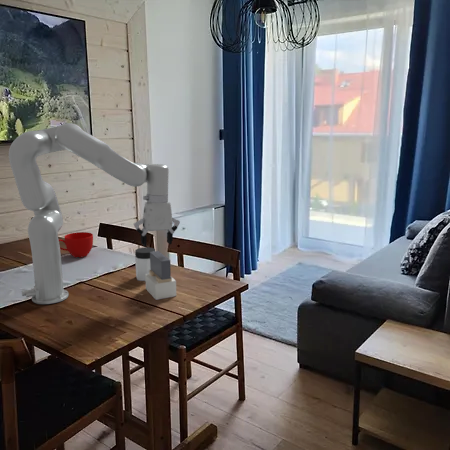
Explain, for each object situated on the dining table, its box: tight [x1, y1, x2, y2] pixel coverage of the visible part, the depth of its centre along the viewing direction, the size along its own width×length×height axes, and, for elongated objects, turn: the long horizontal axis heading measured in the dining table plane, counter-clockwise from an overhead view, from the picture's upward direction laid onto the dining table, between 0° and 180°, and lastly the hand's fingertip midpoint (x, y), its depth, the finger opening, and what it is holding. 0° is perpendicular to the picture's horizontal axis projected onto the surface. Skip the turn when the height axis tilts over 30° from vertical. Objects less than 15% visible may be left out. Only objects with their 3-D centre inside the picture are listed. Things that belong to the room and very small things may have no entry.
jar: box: [134, 246, 156, 282], centre depth 184 cm, size 9×8×12 cm
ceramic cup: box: [58, 231, 94, 258], centre depth 213 cm, size 13×17×10 cm
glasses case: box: [150, 250, 172, 280], centre depth 167 cm, size 3×13×7 cm, turn 27°
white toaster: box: [145, 270, 177, 301], centre depth 169 cm, size 8×12×8 cm, turn 27°
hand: (156, 244), depth 165 cm, fingers open, 9 cm apart
